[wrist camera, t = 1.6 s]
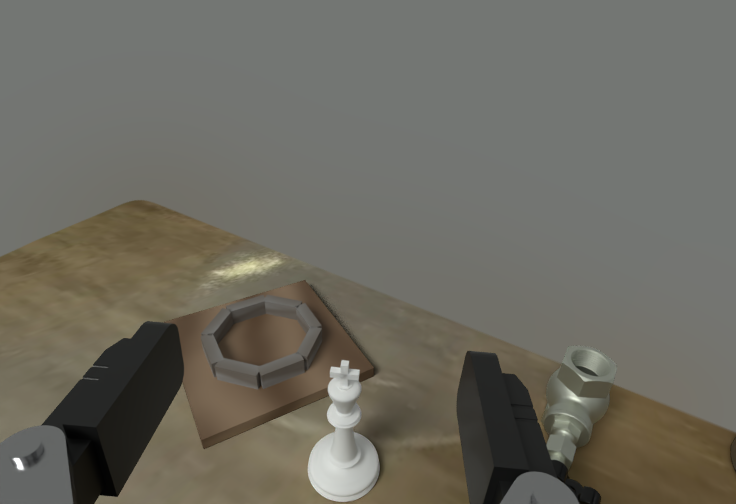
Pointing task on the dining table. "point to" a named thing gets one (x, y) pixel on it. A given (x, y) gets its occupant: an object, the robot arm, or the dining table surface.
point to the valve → (576, 410)
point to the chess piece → (343, 444)
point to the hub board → (261, 359)
